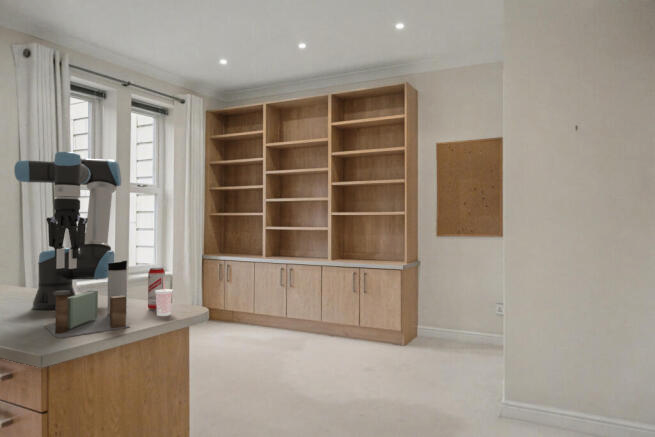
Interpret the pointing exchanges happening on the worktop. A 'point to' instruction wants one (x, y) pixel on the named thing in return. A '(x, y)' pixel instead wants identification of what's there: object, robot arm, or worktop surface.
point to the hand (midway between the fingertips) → (66, 268)
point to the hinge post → (61, 311)
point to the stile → (117, 311)
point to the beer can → (154, 285)
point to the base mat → (86, 328)
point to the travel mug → (117, 281)
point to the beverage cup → (163, 300)
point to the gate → (82, 308)
